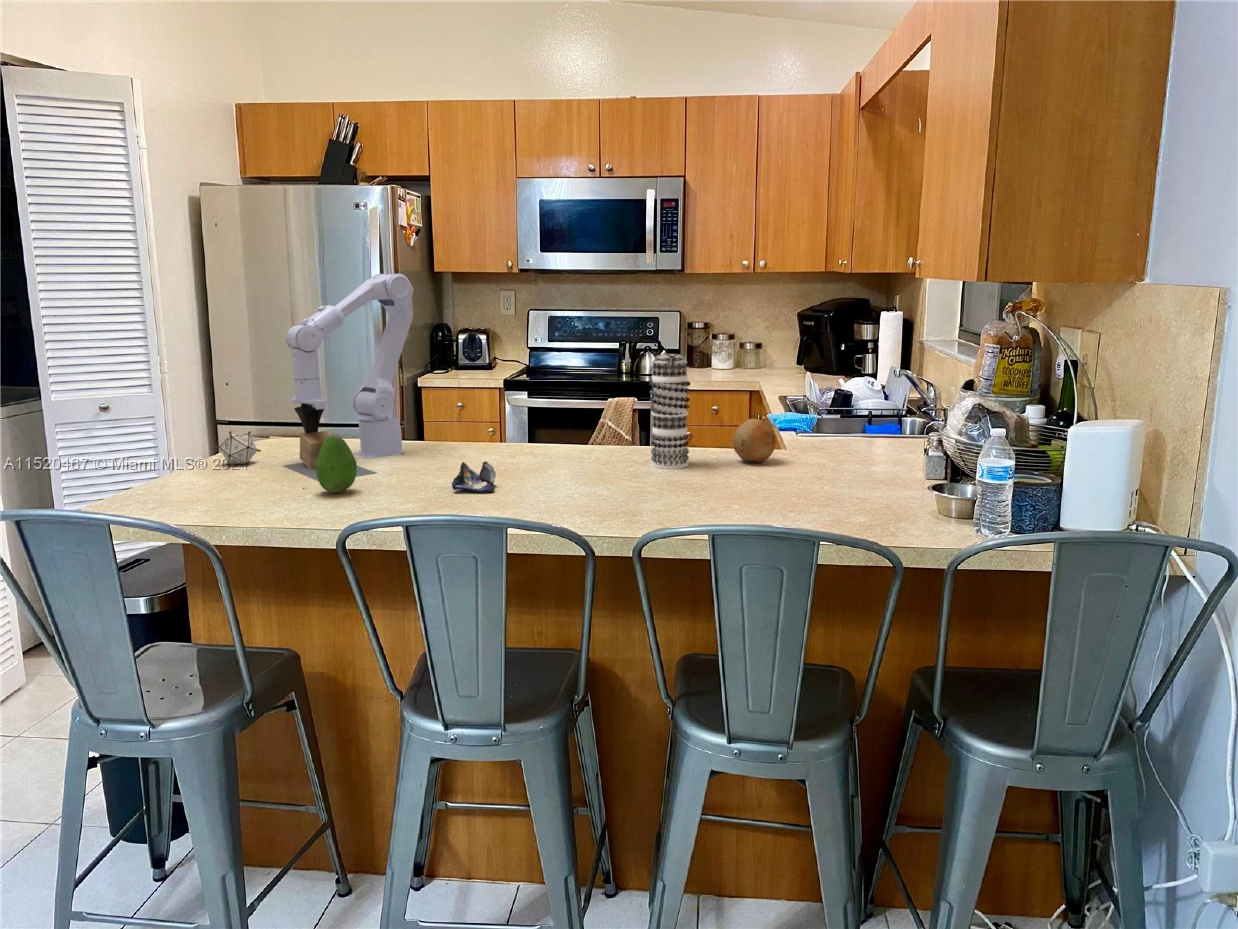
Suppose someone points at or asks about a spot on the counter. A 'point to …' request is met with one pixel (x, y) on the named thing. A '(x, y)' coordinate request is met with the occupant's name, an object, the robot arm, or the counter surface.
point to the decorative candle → (669, 411)
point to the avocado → (335, 465)
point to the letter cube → (311, 447)
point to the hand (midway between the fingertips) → (311, 436)
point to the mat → (311, 473)
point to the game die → (238, 448)
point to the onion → (754, 441)
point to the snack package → (475, 479)
